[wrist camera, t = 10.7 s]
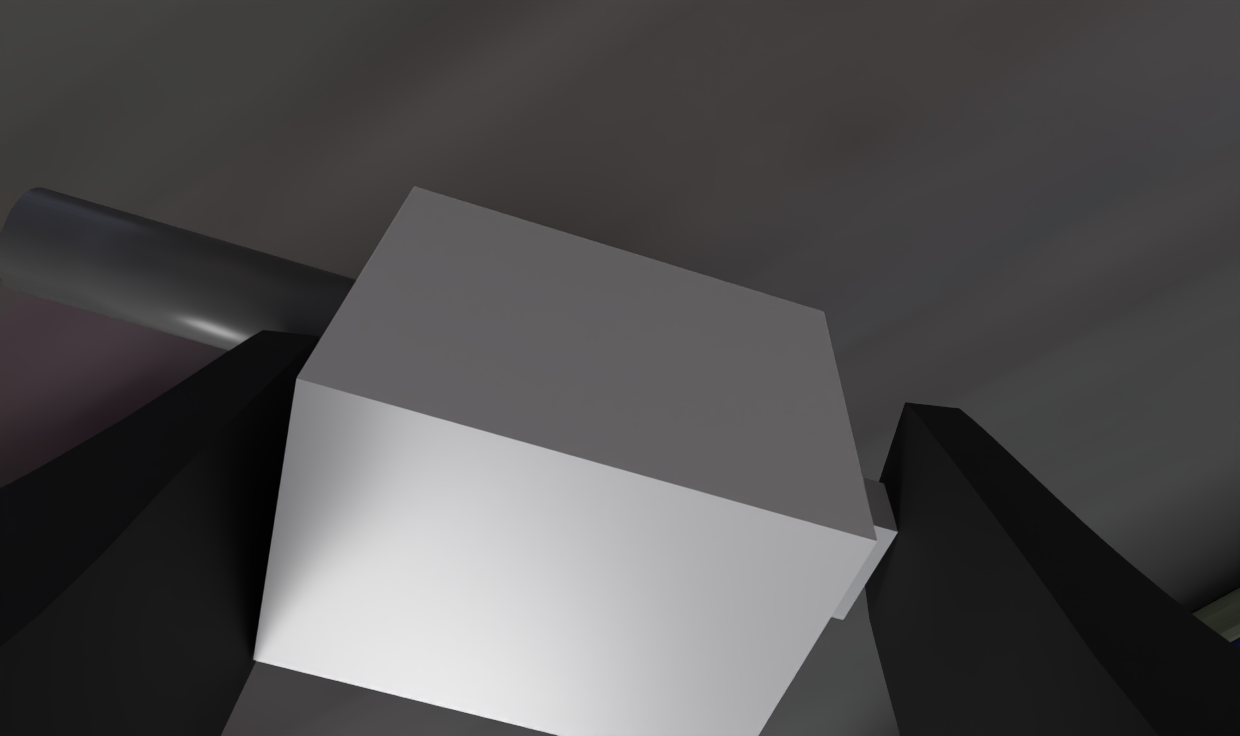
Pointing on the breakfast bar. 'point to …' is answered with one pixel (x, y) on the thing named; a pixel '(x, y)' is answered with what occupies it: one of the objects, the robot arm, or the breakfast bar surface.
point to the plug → (519, 462)
